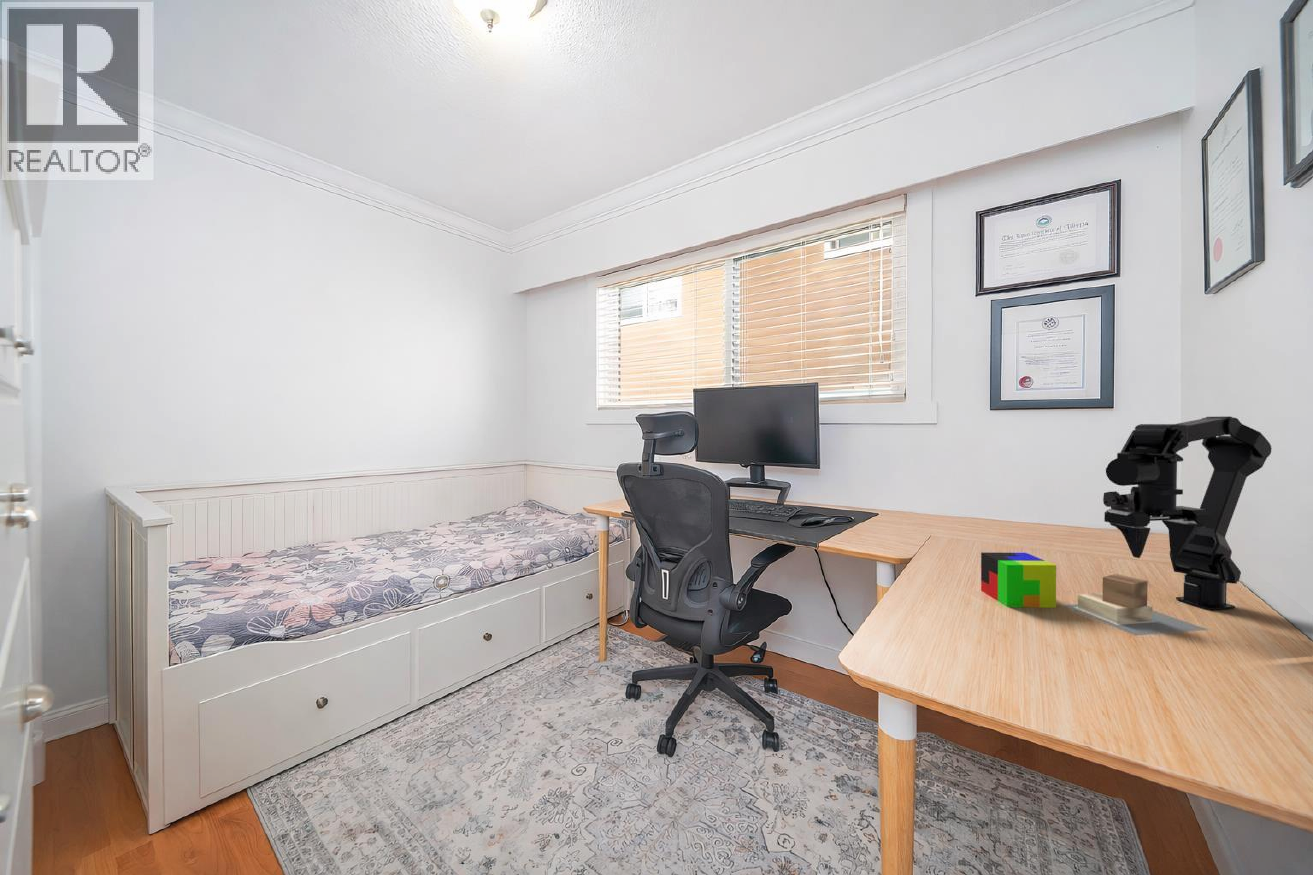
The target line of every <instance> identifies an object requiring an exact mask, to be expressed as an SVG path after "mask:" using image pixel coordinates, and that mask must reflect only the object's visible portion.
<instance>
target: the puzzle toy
mask: <svg viewBox="0 0 1313 875" xmlns="http://www.w3.org/2000/svg"><path fill="white" fill-rule="evenodd" d="M980 590H981V592H983V593H984V594H986V595H987V596H989V597H990V598H993V599H994V600H995V601H996V602H999V603H1000V604H1002V605H1003V606H1005V607H1007V608H1012V607H1013V608H1057V565H1056V564H1054V563H1052V562H1050V561H1047V560H1044V559H1042V558H1040V557H1037V556H1035V555H1032V554H1030V553H1028V552H990V551H989V552H980Z"/></svg>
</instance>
